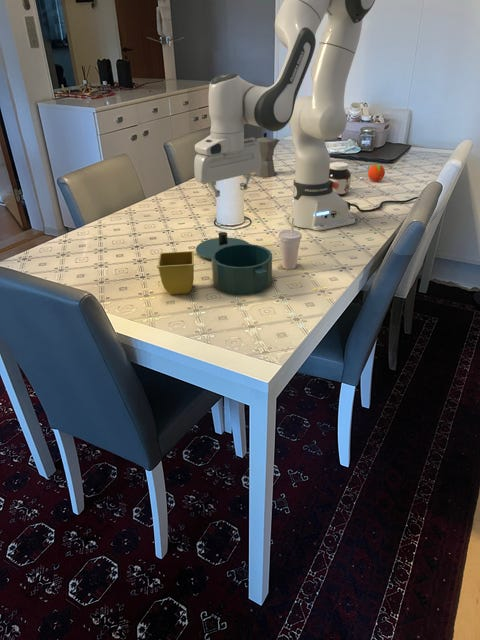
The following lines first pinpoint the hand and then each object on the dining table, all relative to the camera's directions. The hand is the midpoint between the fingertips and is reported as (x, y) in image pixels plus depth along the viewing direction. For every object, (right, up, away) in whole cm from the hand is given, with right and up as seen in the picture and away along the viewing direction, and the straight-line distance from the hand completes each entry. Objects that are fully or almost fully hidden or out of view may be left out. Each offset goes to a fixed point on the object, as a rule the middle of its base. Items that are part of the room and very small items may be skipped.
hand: (230, 193), depth 138 cm
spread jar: (+41, +15, +59) cm, 73 cm away
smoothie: (+17, -21, 0) cm, 27 cm away
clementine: (+61, +23, +71) cm, 96 cm away
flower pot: (-13, -28, -10) cm, 33 cm away
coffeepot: (+13, +30, +85) cm, 91 cm away
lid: (-2, -14, +10) cm, 18 cm away
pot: (+3, -25, -7) cm, 27 cm away
